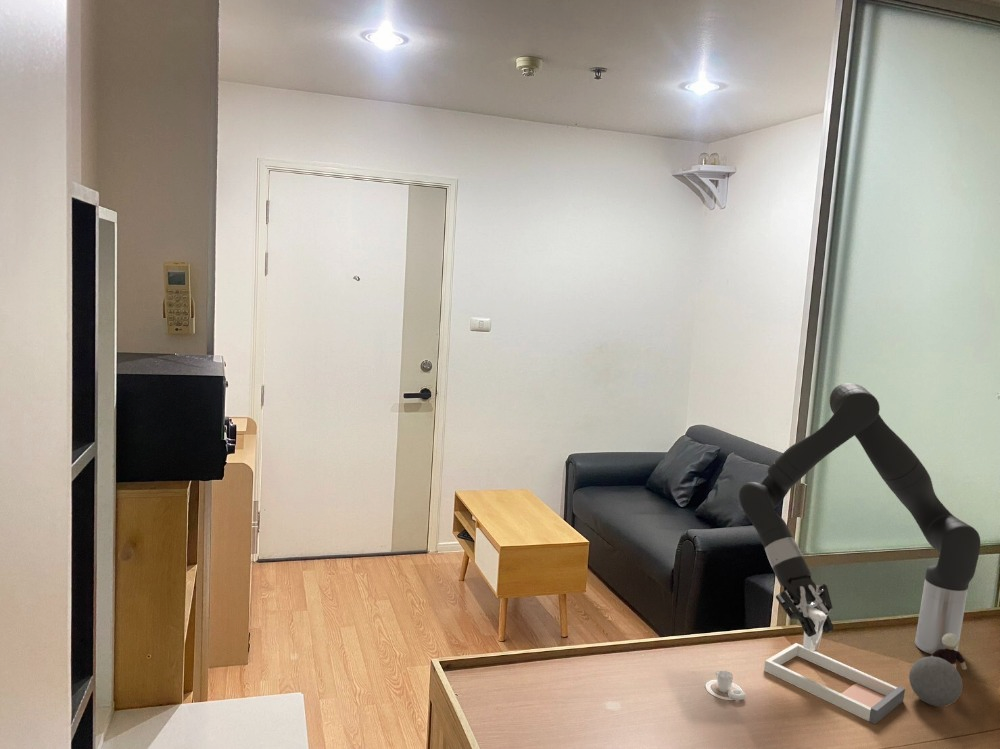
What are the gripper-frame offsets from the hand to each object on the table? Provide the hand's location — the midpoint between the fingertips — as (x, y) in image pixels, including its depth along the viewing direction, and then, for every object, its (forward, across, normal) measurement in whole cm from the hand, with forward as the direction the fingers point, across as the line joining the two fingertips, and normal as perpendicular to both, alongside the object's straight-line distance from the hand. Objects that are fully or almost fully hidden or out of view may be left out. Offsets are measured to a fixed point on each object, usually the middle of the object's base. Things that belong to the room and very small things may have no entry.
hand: (821, 633), depth 175 cm
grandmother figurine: (+17, +26, 0) cm, 31 cm away
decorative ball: (+19, +18, -3) cm, 26 cm away
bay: (+10, +1, +5) cm, 12 cm away
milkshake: (+2, 0, +5) cm, 5 cm away
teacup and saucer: (+7, -26, +9) cm, 28 cm away
